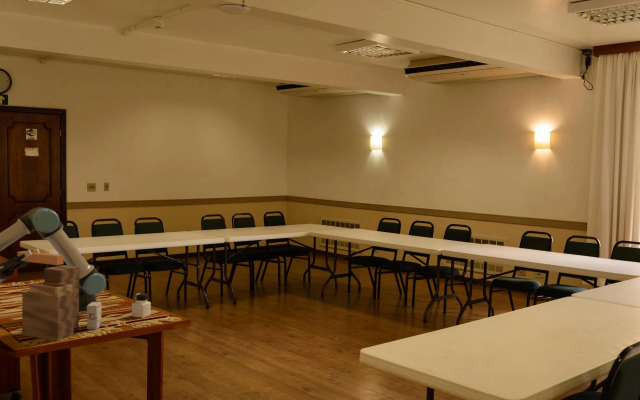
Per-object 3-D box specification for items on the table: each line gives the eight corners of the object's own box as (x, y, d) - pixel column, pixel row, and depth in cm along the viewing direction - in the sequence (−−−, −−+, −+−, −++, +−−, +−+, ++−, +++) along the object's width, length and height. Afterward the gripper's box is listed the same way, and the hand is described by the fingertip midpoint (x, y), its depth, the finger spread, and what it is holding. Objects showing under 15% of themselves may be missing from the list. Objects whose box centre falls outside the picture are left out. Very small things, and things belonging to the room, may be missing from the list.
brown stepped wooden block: (58, 324, 306) (58, 264, 304) (91, 329, 298) (92, 268, 296) (22, 335, 285) (22, 271, 283) (57, 340, 278) (57, 275, 276)
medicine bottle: (150, 315, 330) (151, 293, 329) (142, 318, 323) (143, 295, 322) (139, 313, 332) (139, 291, 331) (131, 316, 325) (131, 294, 325)
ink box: (91, 324, 307) (91, 301, 306) (101, 324, 307) (101, 301, 306) (86, 329, 298) (86, 305, 297) (96, 329, 298) (97, 305, 298)
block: (24, 259, 292) (24, 251, 292) (63, 263, 283) (63, 255, 283) (17, 260, 288) (17, 251, 288) (56, 265, 280) (56, 256, 279)
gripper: (19, 276, 302) (51, 256, 294) (-11, 282, 286) (22, 261, 278) (13, 262, 303) (45, 242, 295) (-17, 267, 287) (16, 246, 279)
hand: (34, 251), depth 287 cm, fingers closed on block, 4 cm apart
